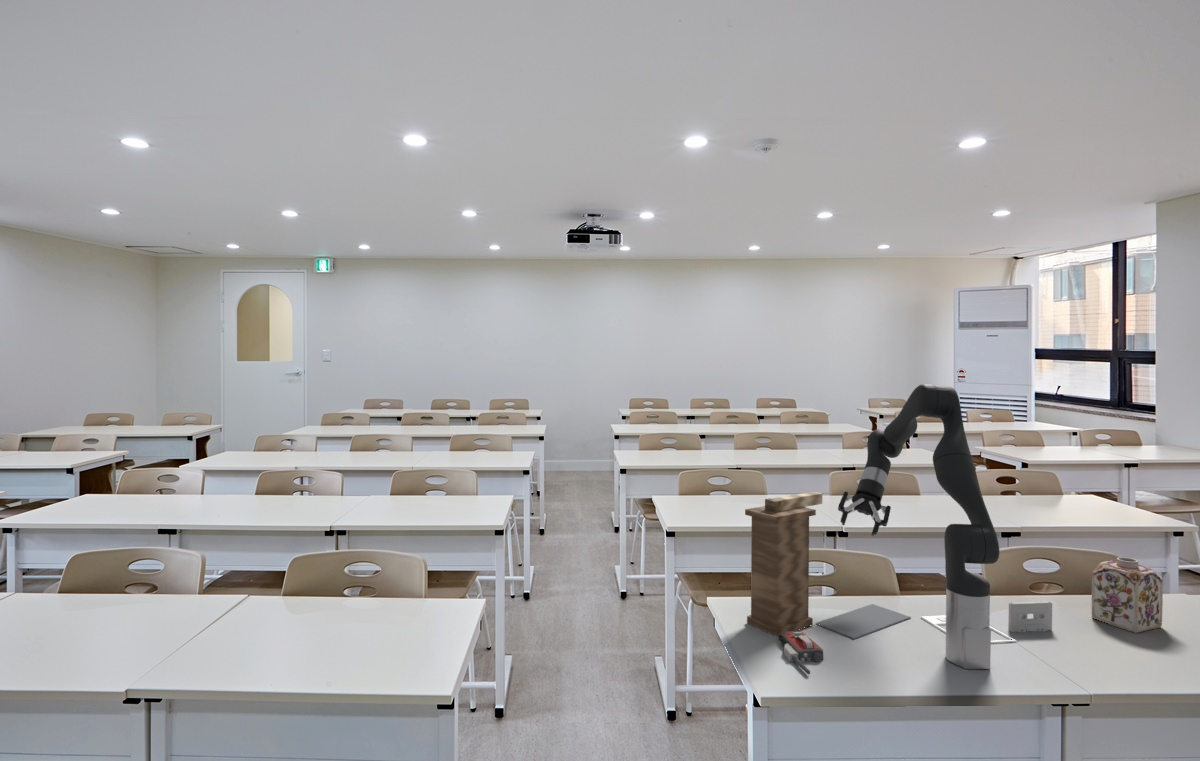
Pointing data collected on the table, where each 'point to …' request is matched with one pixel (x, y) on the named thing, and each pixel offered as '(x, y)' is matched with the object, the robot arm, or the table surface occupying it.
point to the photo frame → (942, 621)
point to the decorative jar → (1127, 595)
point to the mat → (863, 621)
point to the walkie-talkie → (800, 648)
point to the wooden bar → (793, 502)
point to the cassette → (1035, 623)
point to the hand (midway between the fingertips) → (857, 529)
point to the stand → (780, 569)
